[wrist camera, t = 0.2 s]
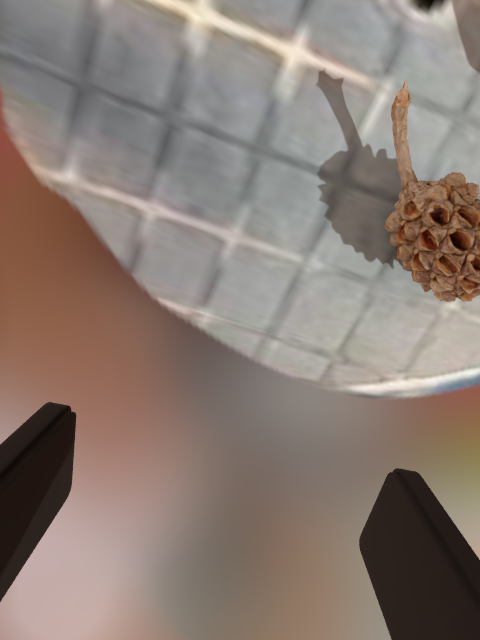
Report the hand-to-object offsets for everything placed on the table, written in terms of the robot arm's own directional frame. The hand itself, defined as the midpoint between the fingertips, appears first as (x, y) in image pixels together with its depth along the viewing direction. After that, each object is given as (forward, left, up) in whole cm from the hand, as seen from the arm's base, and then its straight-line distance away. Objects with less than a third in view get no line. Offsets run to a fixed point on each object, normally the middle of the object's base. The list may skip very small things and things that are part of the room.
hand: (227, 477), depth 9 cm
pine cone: (-13, +17, -31) cm, 38 cm away
